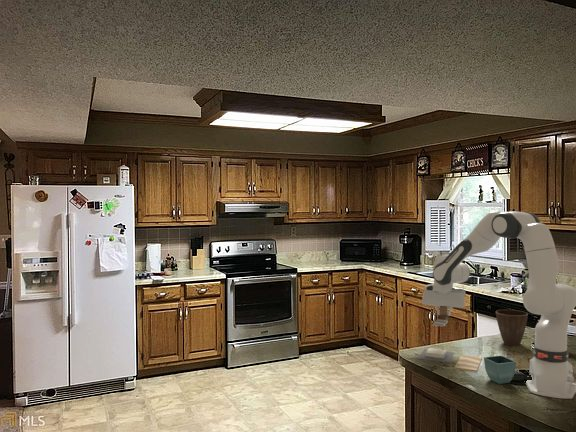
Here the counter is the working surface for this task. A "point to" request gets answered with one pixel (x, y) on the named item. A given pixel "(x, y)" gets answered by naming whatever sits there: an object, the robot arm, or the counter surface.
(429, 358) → the mat
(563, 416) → the counter surface
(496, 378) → the flower pot
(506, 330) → the plant pot
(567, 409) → the counter surface
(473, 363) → the board
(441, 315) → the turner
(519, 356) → the counter surface
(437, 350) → the tile
